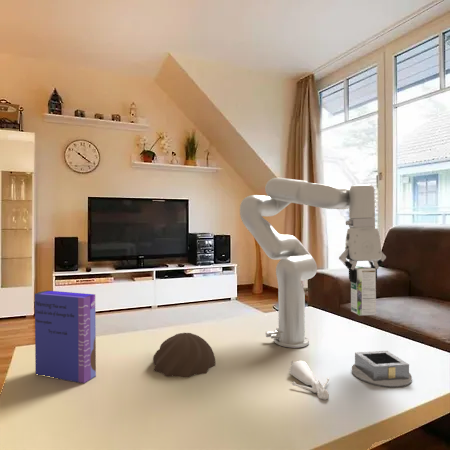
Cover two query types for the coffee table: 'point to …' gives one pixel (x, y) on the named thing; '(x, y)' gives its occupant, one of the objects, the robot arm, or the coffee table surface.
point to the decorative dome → (184, 356)
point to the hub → (381, 369)
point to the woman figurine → (308, 379)
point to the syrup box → (364, 291)
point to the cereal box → (65, 335)
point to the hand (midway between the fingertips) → (363, 281)
